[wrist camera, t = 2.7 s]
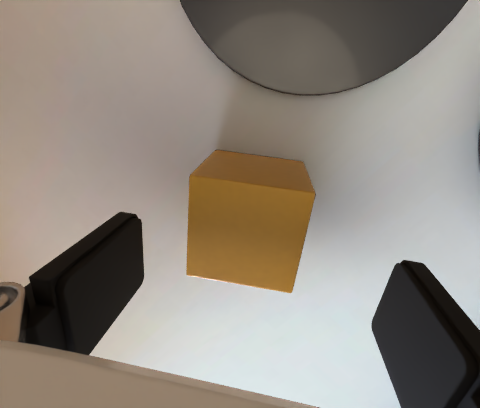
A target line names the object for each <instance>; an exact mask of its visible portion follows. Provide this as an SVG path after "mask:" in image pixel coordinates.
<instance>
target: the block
mask: <svg viewBox="0 0 480 408" xmlns="http://www.w3.org/2000/svg"><path fill="white" fill-rule="evenodd" d="M315 195H316V194H315V191H314V188H313V186H312V183H311V181H310V178H309V175H308V173H307V170H306V168H305V165H304V163H303V162H302V161H295V160H288V159H281V158H273V157H266V156H258V155H251V154H243V153H236V152H229V151H221V150H215V151H214V152H213V153H212V154H211V155H210V156H209V157H208V158H207V159H206V160H205V161H204V162H203V163H202V164H201V165H200V166H199V167H198V168H197V169H196V170H195V171H194V172H193V173H192V174H191V175H190V176H189V208H188V240H187V275H188V276H193V277H199V278H205V279H210V280H216V281H222V282H228V283H234V284H240V285H246V286H252V287H258V288H264V289H269V290H275V291H281V292H287V293H292V291H293V287H294V283H295V278H296V274H297V270H298V266H299V262H300V258H301V253H302V249H303V245H304V241H305V237H306V232H307V228H308V224H309V220H310V216H311V212H312V207H313V203H314V199H315Z"/></svg>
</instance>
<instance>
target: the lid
mask: <svg viewBox="0 0 480 408" xmlns="http://www.w3.org/2000/svg"><path fill="white" fill-rule="evenodd" d="M467 1H468V0H180V2H181V5H182V7H183V9H184V11H185V13H186V14H187V16H188V18H189V20H190V22H191V24H192V25H193V27H194V28H195V30H196V31H197V33H198V34H199V35H200V37H201V38H202V40H203V41H204V43H205V44H206V45H207V46H208V47H209V48H210V49H211V50H212V52H213V53H214V54H215V55H216V56H217V57H218V58H219V59H220V60H221V61H223V62H224V63H225V64H226V65H227V66H228V67H230V68H231V69H232V70H233V71H235V72H236V73H238V74H240V75H241V76H243V77H244V78H246V79H247V80H249V81H251V82H254V83H256V84H258V85H260V86H262V87H265V88H268V89H271V90H275V91H278V92H281V93H288V94H295V95H325V94H332V93H339V92H342V91H346V90H350V89H353V88H357V87H359V86H362V85H364V84H367V83H369V82H372V81H374V80H377V79H378V78H380V77H382V76H384V75H386V74H388V73H389V72H391V71H393V70H395V69H397V68H398V67H399V66H401V65H402V64H404V63H405V62H407V61H408V60H409V59H411V58H412V57H414V56H415V55H416V54H418V53H419V52H420V51H421V50H422V49H423V48H424V47H426V46H427V45H428V44H429V43H430V42H431V41H432V40H434V39H435V38H436V37H437V36H438V35H439V34H440V33H441V31H442V30H443V29H444V28H445V27H446V26H447V25H448V24H449V23H450V22H451V21H452V20H453V19H454V18H455V16H456V15H457V14H458V12H459V11H460V10H461V9H462V7H463V6H464V5H465V3H466V2H467Z"/></svg>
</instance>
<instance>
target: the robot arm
mask: <svg viewBox="0 0 480 408" xmlns="http://www.w3.org/2000/svg"><path fill="white" fill-rule="evenodd" d="M143 279H144V263H143V241H142V222H141V219H138V217H137V215H136V214H131V213H125V212H119V213H118V214H116V215H115V216H113V217H112V218H111V219H109V220H108V221H106V222H105V223H104V224H102V225H101V226H99V227H98V228H97V229H95V230H94V231H92V232H91V233H90V234H88V235H87V236H86V237H84V238H83V239H81V240H80V241H79V242H77V243H76V244H74V245H73V246H72V247H70V248H69V249H67V250H66V251H65V252H63V253H62V254H60V255H59V256H58V257H56V258H55V259H53V260H52V261H51V262H49V263H48V264H46V265H45V266H44V267H42V268H41V269H39V270H38V271H37V272H35V273H34V274H32V275H31V276H30V277H29V280H30V283H29V284H28V285H27V286H25V287H23V286H22V285H21V284H18V283H15V282H1V283H0V408H319V407H315V406H311V405H306V404H302V403H298V402H293V401H289V400H285V399H280V398H276V397H272V396H267V395H263V394H259V393H254V392H250V391H246V390H241V389H237V388H232V387H228V386H224V385H219V384H215V383H210V382H206V381H202V380H197V379H193V378H188V377H184V376H180V375H175V374H171V373H166V372H162V371H157V370H153V369H148V368H144V367H139V366H135V365H130V364H126V363H121V362H117V361H112V360H108V359H103V358H99V357H94V356H89V354H90V353H91V352H92V350H93V349H94V348H95V346H96V345H97V344H98V342H99V341H100V340H101V338H102V337H103V336H104V334H105V333H106V332H107V330H108V329H109V328H110V326H111V325H112V324H113V322H114V321H115V320H116V318H117V317H118V316H119V314H120V313H121V312H122V310H123V309H124V307H125V306H126V305H127V303H128V302H129V301H130V299H131V298H132V297H133V295H134V294H135V293H136V291H137V290H138V289H139V287H140V286H141V284H142V282H143ZM372 331H373V334H374V337H375V339H376V342H377V344H378V347H379V350H380V352H381V355H382V358H383V360H384V363H385V366H386V368H387V371H388V374H389V376H390V379H391V382H392V384H393V387H394V390H395V392H396V395H397V398H398V400H399V403H400V405H401V408H480V330H479V329H478V328H477V327H476V326H475V324H474V323H473V322H472V321H471V320H470V318H469V317H468V316H467V315H466V314H465V312H464V311H463V310H462V309H461V308H460V306H459V305H458V304H457V303H456V302H455V300H454V299H453V298H452V297H451V296H450V294H449V293H448V292H447V291H446V290H445V288H444V287H443V286H442V285H441V284H440V282H439V281H438V280H437V279H436V278H435V276H434V275H433V274H432V273H431V272H430V270H429V269H428V268H427V267H426V266H425V265H424V264H423V263H419V262H413V261H407V260H403V261H402V262H401V263H397V264H396V265H395V266H394V269H393V271H392V273H391V276H390V278H389V281H388V283H387V286H386V288H385V290H384V293H383V295H382V298H381V300H380V303H379V305H378V307H377V310H376V312H375V315H374V317H373V320H372Z"/></svg>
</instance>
